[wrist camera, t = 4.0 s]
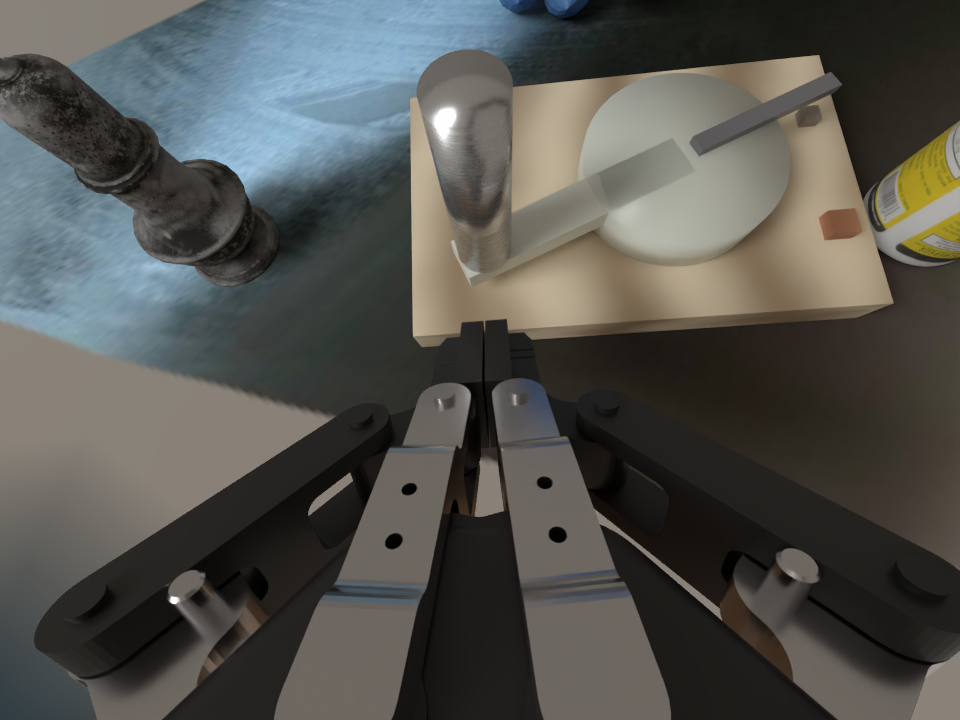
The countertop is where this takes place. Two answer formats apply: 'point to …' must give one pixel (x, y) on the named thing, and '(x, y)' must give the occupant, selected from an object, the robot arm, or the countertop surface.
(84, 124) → the dark chess piece
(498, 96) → the dial
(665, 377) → the countertop surface
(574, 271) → the dial base
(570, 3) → the grapes
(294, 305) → the countertop surface
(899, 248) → the supplement bottle
